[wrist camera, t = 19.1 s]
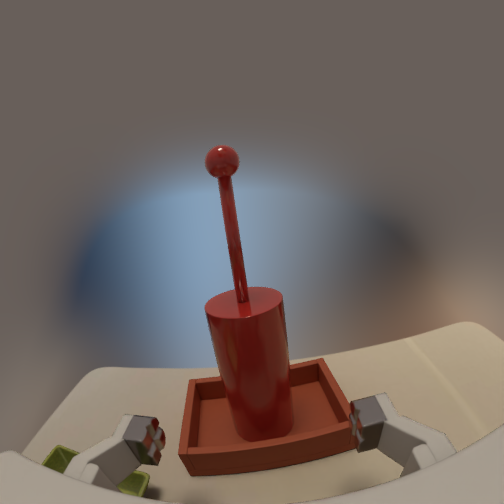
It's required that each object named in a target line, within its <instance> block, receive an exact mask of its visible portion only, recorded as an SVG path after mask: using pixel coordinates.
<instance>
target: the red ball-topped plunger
mask: <svg viewBox="0 0 504 504" xmlns="http://www.w3.org/2000/svg"><path fill="white" fill-rule="evenodd" d="M239 162H240V161H239V156H238V154H237V152H236V151H235V150H234V149H233V148H232V147H230V146H227V145H218V146H215V147H213V148H212V149H210V150H209V152H208V153H207V155H206V157H205V167H206V169H207V171H208V172H209V174H210V175H212V176H213V177H215V178H218V184H219V191H220V198H221V205H222V211H223V218H224V224H225V231H226V237H227V243H228V249H229V256H230V262H231V269H232V275H233V281H234V286H235V290H230V291H227V292H224V293H221V294H219V295H217V296H215V297H213V298H211V299H210V300H209V301H208V302H207V303H206V305H205V313H206V318H207V322H208V327H209V331H210V335H211V340H212V343H213V348H214V352H215V356H216V360H217V364H218V368H219V372H220V376H221V380H222V384H223V388H224V392H225V395H226V399H227V403H228V406H229V410H230V413H231V417H232V420H233V424H234V427H235V430H236V432H237V434H238V435H239V436H240V437H241V438H243V439H244V440H246V441H249V442H256V441H263V440H269V439H275V438H280V437H284V436H286V435H287V434H288V433H289V432H290V431H291V429H292V428H293V425H294V408H293V396H292V384H291V373H290V363H289V352H288V342H287V332H286V323H285V314H284V304H283V296H282V294H281V293H280V292H279V291H277V290H275V289H271V288H266V287H247V281H246V274H245V268H244V261H243V255H242V248H241V242H240V234H239V227H238V221H237V214H236V207H235V200H234V194H233V187H232V179H231V176H232V175H233V174H235V172H236V171H237V170H238V167H239Z"/></svg>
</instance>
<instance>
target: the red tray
mask: <svg viewBox="0 0 504 504" xmlns="http://www.w3.org/2000/svg"><path fill="white" fill-rule="evenodd" d="M290 373H291V384H292V396H293V408H294V425H293V428H292V429H291V431H290V432H289V433H288V434H287V435H286V436H284V437H280V438H275V439H269V440H263V441H256V442H249V441H246V440H244V439H243V438H241V437H240V436H239V435H238V434H237V432H236V430H235V427H234V424H233V420H232V417H231V413H230V410H229V406H228V403H227V399H226V395H225V392H224V388H223V384H222V380H221V376H219V377H211V378H201V379H191V380H189V384H188V391H187V397H186V403H185V409H184V416H183V422H182V429H181V436H180V443H179V450H178V455H179V457H180V459H181V460H182V462H183V464H184V465H185V467H186V469H187V471H188V472H189V474H190V476H204V475H222V474H234V473H244V472H252V471H260V470H266V469H273V468H278V467H284V466H289V465H294V464H299V463H303V462H307V461H312V460H316V459H320V458H323V457H327V456H331V455H334V454H338V453H341V452H344V451H347V450H350V449H353V448H356V446H355V443H354V438H355V436H353V435H352V434H351V432H350V428H349V414H350V413H351V410H350V404H349V403H348V401H347V399H346V397H345V396H344V394H343V392H342V390H341V389H340V387H339V385H338V383H337V382H336V380H335V378H334V377H333V375H332V373H331V371H330V370H329V368H328V366H327V364H326V363H325V361H324V359H323V358H320V359H316V360H311V361H307V362H302V363H298V364H293V365H290Z"/></svg>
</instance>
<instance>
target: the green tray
mask: <svg viewBox="0 0 504 504" xmlns="http://www.w3.org/2000/svg"><path fill="white" fill-rule="evenodd" d="M78 454H80V453H78V452H76V451H74V450H71V449H69V448H66V447H64V446H61V445H57V446H56V447H55V448H54V449H53V450H52V451H51V452H50V454H49V455H48V456H47V457H46V459H45V460H44V462H43V463H42V464H41V465H43V466H46V467H48V468H50V469H52V470H55V471H57V472H59V473H62V474H63V473H64V472H65V470H66V468H67V467H68V465H69V463H70V462H71V460H72V458H73V457H74V456H76V455H78ZM149 479H150V476H149V475H148V474H147V473H144V472H141V471H137V470H135V471H133V472H132V473H131V474H130V475H129V476H128V477H127V478H125V479H124V480H123V481H122V482H121V483H119V484H118V485H117V488H118V489H119V490H120V491H121V492H122V493H124V494H129V495H133V496H138V497H143V495H144V493H145V491H146V489H147V486H148V483H149Z"/></svg>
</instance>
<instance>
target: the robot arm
mask: <svg viewBox="0 0 504 504" xmlns="http://www.w3.org/2000/svg"><path fill="white" fill-rule="evenodd" d="M350 410H351V413H350V414H349V428H350V432H351V434H352V435H353V436H355V438H354V443H355V446H356V449H357V452H358V453H360V452H364V451H368V450H372V449H375V448H377V449H378V450H380V451H381V452H382V453H384V454H385V455H387V456H388V457H390V458H391V459H393V460H394V461H395V462H397V463H398V464H400V465H401V466H403V467H404V469H403V471H402V473H401V475H400V477H399V478H397V479H395V480H392V481H389V482H386V483H383V484H380V485H376V486H373V487H370V488H366V489H363V490H359V491H355V492H351V493H347V494H343V495H338V496H333V497H328V498H323V499H318V500H312V501H305V502H298V503H289V504H504V424H502V425H501V426H499V427H498V428H496V429H495V430H493V431H492V432H490V433H489V434H487V435H486V436H484V437H482V438H481V439H479V440H478V441H476V442H474V443H472V444H471V445H469V446H467V447H465V448H464V449H462V450H460V451H458V452H457V451H456V450H455V448H454V447H453V445H452V444H451V442H450V440H449V439H448V437H447V436H446V434H445V433H443V432H440V431H438V430H435V429H433V428H430V427H428V426H426V425H423V424H421V423H419V422H416V421H414V420H412V419H410V418H407V417H405V416H399V414H398V412H397V411H396V409H395V407H394V405H393V404H392V402H391V400H390V399H389V397H388V395H387V394H386V393H385V392H384V393H381V394H377V395H374V396H370V397H366V398H362V399H358V400H354V401H351V402H350ZM158 425H159V421H158V420H157V418H155V417H148V416H139V415H129V414H125V415H123V417H122V418H121V420H120V422H119V424H118V426H117V428H116V430H115V431H114V433H113V435H112V437H108V438H106V439H104V440H102V441H101V442H99V443H97V444H96V445H94V446H92V447H90V448H89V449H87V450H85V451H83V452H81V453H80V454H78V455H76V456H74V457H73V458H72V460H71V462H70V463H69V465H68V467H67V468H66V470H65V472H64V473H63V474H62V473H59V472H57V471H55V470H52V469H50V468H48V467H46V466H43V465H41V464H39V463H37V462H35V461H33V460H31V459H29V458H27V457H25V456H23V455H21V454H19V453H18V452H15V451H12V450H9V451H5V452H1V453H0V504H181V503H173V502H166V501H159V500H153V499H148V498H143V497H138V496H133V495H129V494H124V493H122V492H121V491H120V490H119V489H118V488H117V485H118V484H119V483H121V482H122V481H123V480H124V479H125V478H127V477H128V476H129V475H130V474H131V473H132V472H133V471H135V470H136V469H137V468H138V467H139V466H140V465H141V464H146V465H155V466H158V464H159V461H160V458H161V453H160V451H161V450H162V449H163V448H164V446H165V438H166V437H165V433H164V431H163V429H161V428H160V427H159V426H158Z"/></svg>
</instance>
